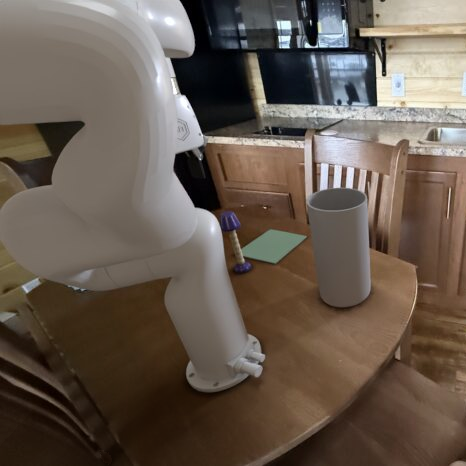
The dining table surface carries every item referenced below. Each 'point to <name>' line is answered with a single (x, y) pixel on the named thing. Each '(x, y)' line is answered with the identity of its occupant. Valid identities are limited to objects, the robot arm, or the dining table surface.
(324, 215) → the cylinder vase
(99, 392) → the dining table surface
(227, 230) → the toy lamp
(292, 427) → the dining table surface
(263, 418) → the dining table surface
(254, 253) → the mat
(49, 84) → the robot arm
